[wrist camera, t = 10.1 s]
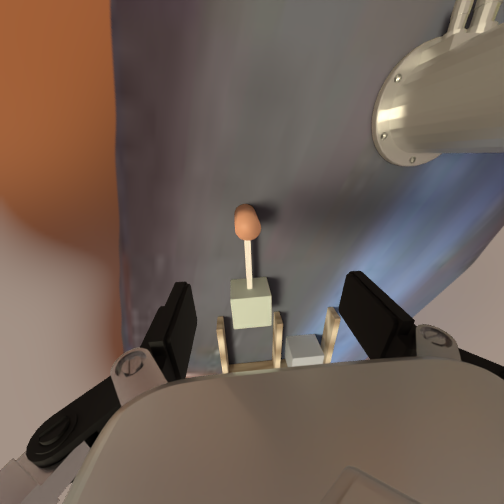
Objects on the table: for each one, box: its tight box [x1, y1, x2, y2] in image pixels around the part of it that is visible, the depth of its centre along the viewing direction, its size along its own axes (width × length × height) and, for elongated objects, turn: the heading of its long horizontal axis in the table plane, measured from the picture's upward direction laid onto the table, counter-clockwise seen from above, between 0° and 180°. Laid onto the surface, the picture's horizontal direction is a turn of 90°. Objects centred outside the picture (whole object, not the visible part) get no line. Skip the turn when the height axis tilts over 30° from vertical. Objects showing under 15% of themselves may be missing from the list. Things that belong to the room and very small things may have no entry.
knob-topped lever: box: [231, 204, 271, 329], centre depth 29 cm, size 18×6×6 cm, turn 2°
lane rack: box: [217, 307, 341, 374], centre depth 39 cm, size 15×22×3 cm
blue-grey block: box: [285, 334, 324, 367], centre depth 40 cm, size 6×6×5 cm
